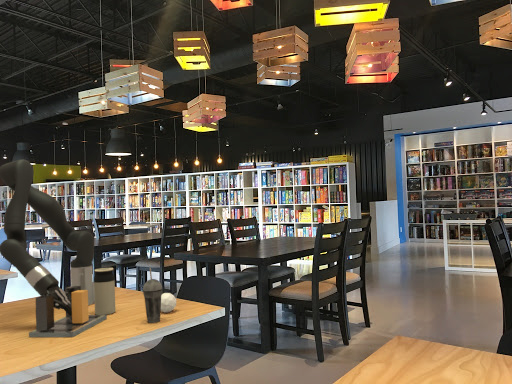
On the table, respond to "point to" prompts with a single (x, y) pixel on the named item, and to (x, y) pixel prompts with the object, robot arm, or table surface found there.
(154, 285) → the beverage cup
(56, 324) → the panel
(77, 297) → the handle
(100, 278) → the travel mug
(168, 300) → the geometric ball
